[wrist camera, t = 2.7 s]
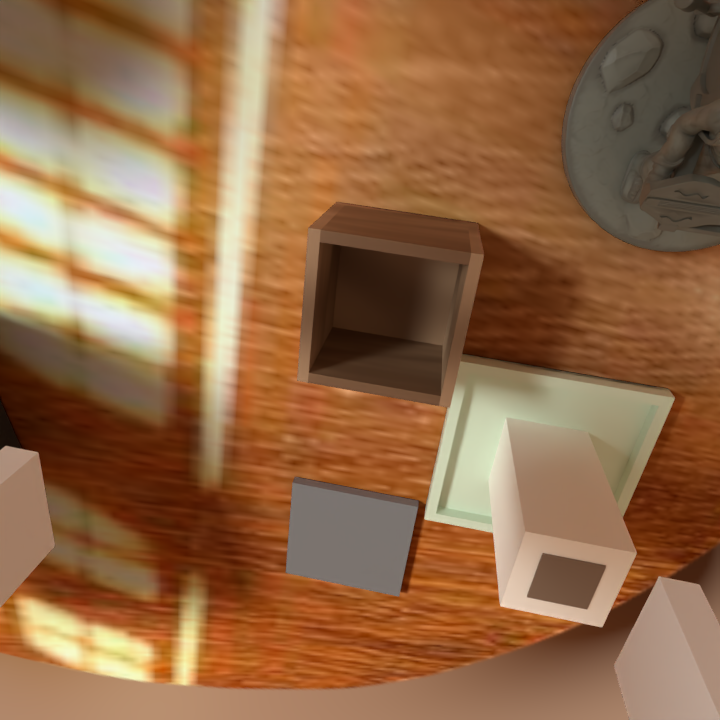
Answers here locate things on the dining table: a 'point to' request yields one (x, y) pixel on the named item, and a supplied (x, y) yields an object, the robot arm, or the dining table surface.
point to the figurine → (650, 128)
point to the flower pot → (7, 431)
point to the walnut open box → (388, 302)
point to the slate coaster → (349, 535)
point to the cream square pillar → (556, 524)
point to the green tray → (541, 405)
